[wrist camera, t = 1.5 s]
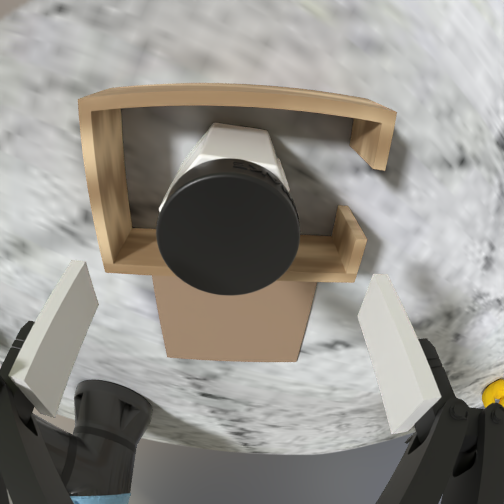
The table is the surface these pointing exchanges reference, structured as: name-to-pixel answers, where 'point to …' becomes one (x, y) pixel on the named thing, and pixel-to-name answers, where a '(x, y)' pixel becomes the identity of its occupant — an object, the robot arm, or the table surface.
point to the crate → (218, 94)
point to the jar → (229, 214)
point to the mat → (233, 321)
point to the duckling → (494, 393)
